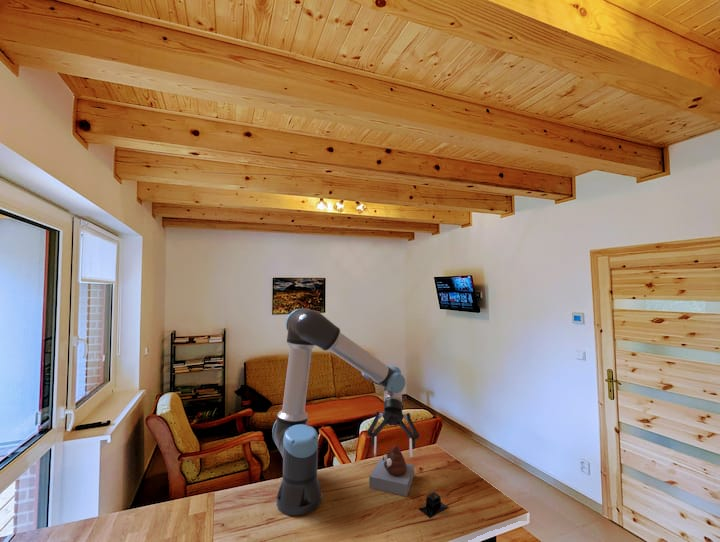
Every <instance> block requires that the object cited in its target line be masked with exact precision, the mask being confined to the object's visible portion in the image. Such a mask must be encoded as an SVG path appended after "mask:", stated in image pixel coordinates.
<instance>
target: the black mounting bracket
mask: <svg viewBox="0 0 720 542" xmlns="http://www.w3.org/2000/svg"><path fill="white" fill-rule="evenodd" d="M449 508H450V507H449V506H448V505H446V504H445V503H444V502H442V498H441V496H440V495H439V494H437V493H436V492H435V491H433V492H431V493H429V494H427V495H426V499H425V505H423V506H420V507H419V508H418V510H419V511H420V512H421V513H422V514H424V515H425V516H426V517H428V518H429V519H432V518H433V517H436V516H437V515H439V514H440V513H442V512H445V511H446V510H448V509H449Z"/></svg>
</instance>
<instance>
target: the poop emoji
mask: <svg viewBox="0 0 720 542" xmlns="http://www.w3.org/2000/svg"><path fill="white" fill-rule="evenodd" d="M382 459H383V461H384V467H385V468H386V470H387V472H388V473H389V474H391V475H393V476H401V475H404V474H405V473H406V470H407V466H406V464H407V463H406V461H405V457H404V455H403V453H402V452H401V450H400V448H399V447H398V445H393V446H392V447H391V449H390V450H389V452H387V453H385V454H383V455H382Z"/></svg>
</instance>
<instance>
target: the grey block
mask: <svg viewBox="0 0 720 542" xmlns="http://www.w3.org/2000/svg"><path fill="white" fill-rule="evenodd" d="M406 466H407V470H406V473H405V474H404V475H401V476H393V475H391V474H389V473H388V472H387V470H386V468H385V467H384V461H383V458H382V457H381V458H380V457H379V459H378V461H377V463H376V464H375V466H374V467H373V469H372V472H371V473H370V475H369V479H368V480H369V481H368V483H369V486H368V487H369V489H373V490H378V491H382V492H386V493H391V494H394V495H399V496H403V497H408V495H409V492H410V488H411V486H412V483H413V480H414V478H415V464H411V463H406Z"/></svg>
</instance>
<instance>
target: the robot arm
mask: <svg viewBox="0 0 720 542" xmlns="http://www.w3.org/2000/svg"><path fill="white" fill-rule="evenodd" d="M285 326H286V331H287V336H286V344H287V345H288V346H289V352H288V353H289V354H288V361H287V366H286V367H287V369H286V376H285V385H284V392H283V400H282V409H281V410H280V411H278V413H277V414H276V415H277V416H276V420H275V421H274V424H273V426H272V431H271V432H272V440H273V442H274V444H275V445H276V447H277V449H278V451H279V453H280V454H281V457H282V480H281V483H280V484H279V487H278V491H277V494H276V507H277V509H278V510H279V512H281V513H282V514H285V515H288V516H295V517H297V516H305V515H307V514H309V513H312V512H314V511H315V510H317V509H318V507H320V505H321V503H322V497H323V496H322V494H323V493H322V489H321V485H320V482H319V478H318V457H319V455H318V453H319V438H318V437H319V436H318V432H317V430H316V428H314V427H313V426H311V425H308V419H309V415H308V413H307V412H306V410H305V409H306V404H307V402H306V401H307V394H308V387H309V386H308V385H309V376H310V370H311V360H312V351H313V349H314V347H318V348H319V349H321V350H323V351H325V352H326V351H329V352H331V353H332V354H334V355H336V357H339V358H340V359H341V360H343V361H344V362H346V363H347V364H348V365H350V366H352V367H353V368H355V369H356V370H358V371H359V372H361V375H362V377H363V378H365V379H367V380H369V381H371V382H373V383H375V384H377V385H379V386H380V387H382V388H383V392H384V393H383V401H384V402H383V412H380V411H378V410H377V411H376V412H375V417H374V419H373V421H372V422H371V424H370V426H369V428H368V430H367V432H366V434H367V437H370V438H371V439H370V440H371V442H370V444H371V447H372V448H373V457H375V458H376V457H377V439H378V438H377V436H378V435H379V433H380V432H381V431H382V430H383V429H384V428H385V427H386V426H387V425H388V426H394V427H395V426H399V427H400V429H402V431H404V432H405V434H406V435H407V437H408V438H409V441H408V442H409V459H410V460H413V457H414V456H413V455H414V454H413V450H415V448H416V440H419V439H420V432H419V431H418V430H417V428H416V426H415V424H414V422H413V420H412V418H411V413H409V412H407V413H405V414H403V404H402V403H403V396H402V395H403V394H402V393H403V390H404V388H405V386H406V378H405V376H404V375H403V374H402V370H401V369H400V368H399V367H397V366H393V365H390V366H388V365H387V364H386V363H384V362H383V361H381V360H379V359H378V358H377V357H375V356H374V355H373V354H371V353H370V352H369V351H367V350H365V349H364V348H363V347H362V346H360V345H359V344H357V343H356V342H355V341H354V340H351V339H350V338H349V337H347V336H346V335H345V334H343V333H341V329H340V327H338V326H337V325H335V324H334V322H332V321H331V320H329V319H328V318H327V317H326V316H325V315H324V314H322V313H320V312H319V311H317V310H313V309H309V308H305V307H304V308H303V307H302V308H297V309H294V310H293V311H291V312H290V313H289V314H288V315H287V318H286V321H285ZM381 418H383V420H382V422H381V423H380V424H379V425H378V426H377V424H378V422H379V420H380V419H381ZM403 419H405V421H406V422H407V423H408V426H409V428H408V426H407V425H406V424H405V422H404V421H403ZM376 426H377V427H376Z"/></svg>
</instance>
